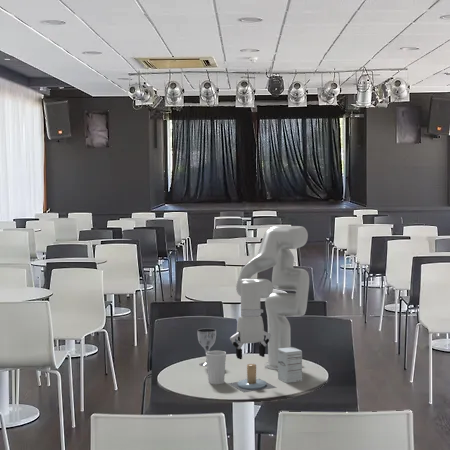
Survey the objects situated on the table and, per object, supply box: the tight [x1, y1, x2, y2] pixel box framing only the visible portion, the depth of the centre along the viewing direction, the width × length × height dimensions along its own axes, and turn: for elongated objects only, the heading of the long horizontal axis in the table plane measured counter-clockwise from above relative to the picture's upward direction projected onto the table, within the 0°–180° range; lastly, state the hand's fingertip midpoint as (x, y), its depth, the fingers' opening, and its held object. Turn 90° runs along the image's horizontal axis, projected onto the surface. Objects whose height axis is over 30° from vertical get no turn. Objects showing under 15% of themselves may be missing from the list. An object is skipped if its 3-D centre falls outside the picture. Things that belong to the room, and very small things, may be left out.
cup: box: [205, 350, 227, 385], centre depth 306 cm, size 8×8×12 cm
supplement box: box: [277, 346, 303, 384], centre depth 308 cm, size 7×7×13 cm
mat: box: [227, 378, 277, 393], centre depth 301 cm, size 14×14×1 cm
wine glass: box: [197, 327, 217, 367], centre depth 336 cm, size 8×8×15 cm
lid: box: [237, 363, 266, 389], centre depth 300 cm, size 11×11×8 cm
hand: (250, 357), depth 299 cm, fingers open, 9 cm apart
